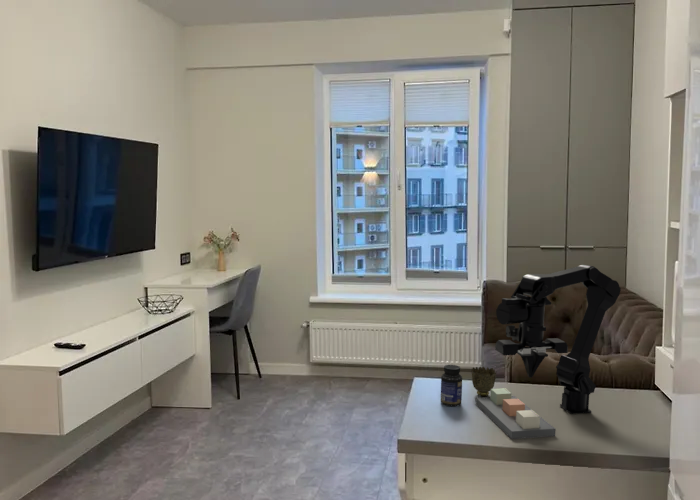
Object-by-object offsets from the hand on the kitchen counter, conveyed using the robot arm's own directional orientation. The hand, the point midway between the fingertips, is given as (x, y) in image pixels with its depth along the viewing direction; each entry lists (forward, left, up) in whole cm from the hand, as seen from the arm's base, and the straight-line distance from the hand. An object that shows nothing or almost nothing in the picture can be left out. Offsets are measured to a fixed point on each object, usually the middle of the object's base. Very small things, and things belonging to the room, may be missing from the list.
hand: (530, 377), depth 167 cm
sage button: (+4, -9, -10) cm, 14 cm away
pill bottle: (+17, -14, -12) cm, 25 cm away
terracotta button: (+4, 0, -10) cm, 11 cm away
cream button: (+4, +8, -10) cm, 14 cm away
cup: (+5, -19, -12) cm, 23 cm away
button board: (+4, 0, -12) cm, 13 cm away
